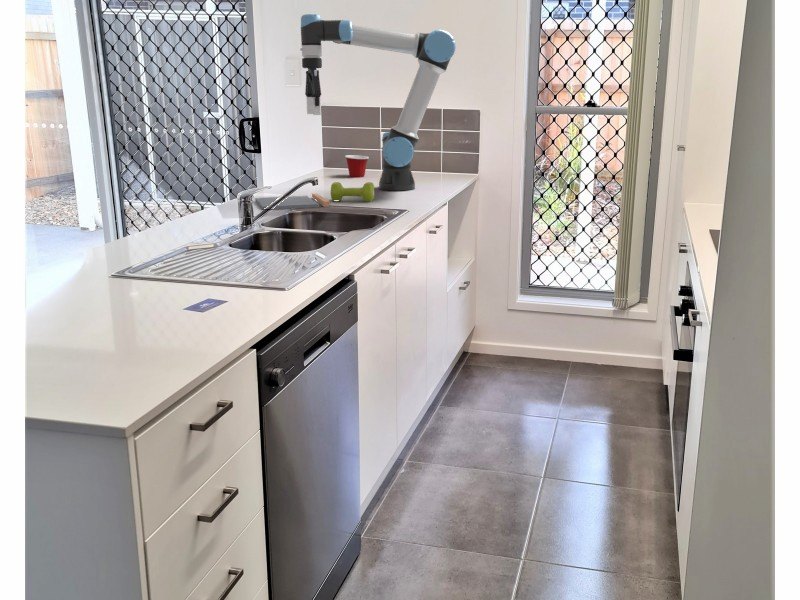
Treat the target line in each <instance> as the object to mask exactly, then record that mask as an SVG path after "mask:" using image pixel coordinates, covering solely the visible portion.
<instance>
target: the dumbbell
mask: <svg viewBox="0 0 800 600" xmlns="http://www.w3.org/2000/svg"><path fill="white" fill-rule="evenodd" d="M330 197H331V201H332V200H340V201H342V199H343V198H344V197H362V199H363V201H365V202H366V203H372V202H373V201H374V198H375V185H374V183H373V182H369V181H368V182H365V183H364V184H363V186H362V187H359V188H358V187H356V188H355V187H344V186H343V185H342V183H341V182H340V181H334V182H332V184H331V186H330ZM371 201H372V202H371Z"/></svg>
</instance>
